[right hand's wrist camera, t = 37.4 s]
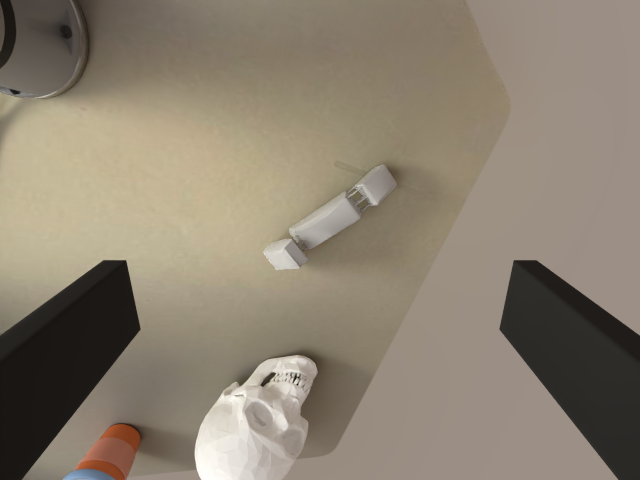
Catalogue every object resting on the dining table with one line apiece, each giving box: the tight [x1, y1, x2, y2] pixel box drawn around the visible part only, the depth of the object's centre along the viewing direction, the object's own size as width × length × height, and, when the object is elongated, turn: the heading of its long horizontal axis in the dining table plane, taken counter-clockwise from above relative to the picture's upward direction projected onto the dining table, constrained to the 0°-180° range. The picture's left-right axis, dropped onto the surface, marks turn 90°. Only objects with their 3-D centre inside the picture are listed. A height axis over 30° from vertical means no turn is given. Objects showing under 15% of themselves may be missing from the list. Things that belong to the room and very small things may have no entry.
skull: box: [195, 355, 318, 480], centre depth 54 cm, size 13×22×16 cm, turn 138°
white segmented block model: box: [264, 165, 398, 270], centre depth 47 cm, size 20×4×7 cm, turn 127°
